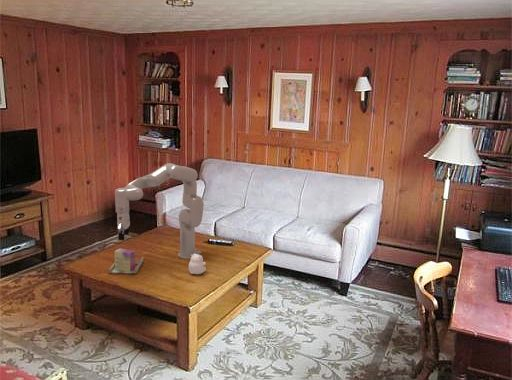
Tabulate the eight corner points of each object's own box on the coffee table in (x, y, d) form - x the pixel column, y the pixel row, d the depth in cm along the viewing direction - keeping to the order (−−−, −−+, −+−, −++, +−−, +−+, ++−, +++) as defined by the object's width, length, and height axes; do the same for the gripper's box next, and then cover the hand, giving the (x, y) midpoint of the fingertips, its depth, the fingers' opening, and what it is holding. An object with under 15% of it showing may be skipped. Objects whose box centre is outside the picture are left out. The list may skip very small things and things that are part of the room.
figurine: (197, 278, 251) (197, 259, 249) (184, 274, 256) (184, 255, 254) (207, 272, 260) (208, 253, 257) (195, 268, 265) (195, 250, 262)
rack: (144, 261, 272) (143, 257, 272) (136, 274, 253) (136, 270, 252) (118, 260, 272) (118, 256, 271) (108, 274, 252) (108, 269, 252)
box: (135, 268, 259) (134, 250, 256) (130, 272, 254) (129, 253, 251) (120, 266, 261) (119, 248, 259) (114, 269, 256) (114, 251, 253)
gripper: (124, 213, 240) (126, 242, 244) (132, 205, 257) (133, 232, 261) (111, 213, 240) (113, 242, 244) (120, 205, 257) (121, 232, 261)
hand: (123, 237), depth 252 cm, fingers open, 9 cm apart
